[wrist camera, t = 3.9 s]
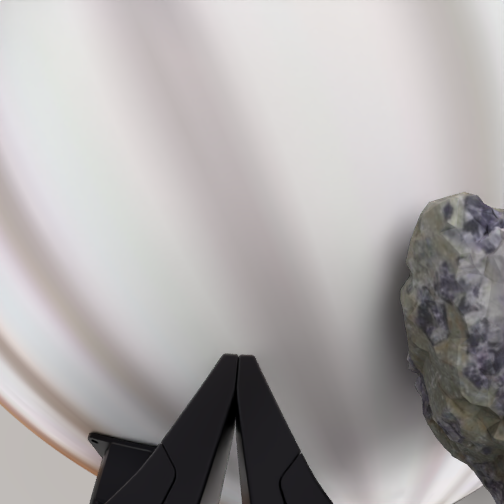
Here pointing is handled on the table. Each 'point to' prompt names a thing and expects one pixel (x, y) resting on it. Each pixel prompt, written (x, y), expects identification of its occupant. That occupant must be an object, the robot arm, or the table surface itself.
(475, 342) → the mineral rock
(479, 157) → the table surface
